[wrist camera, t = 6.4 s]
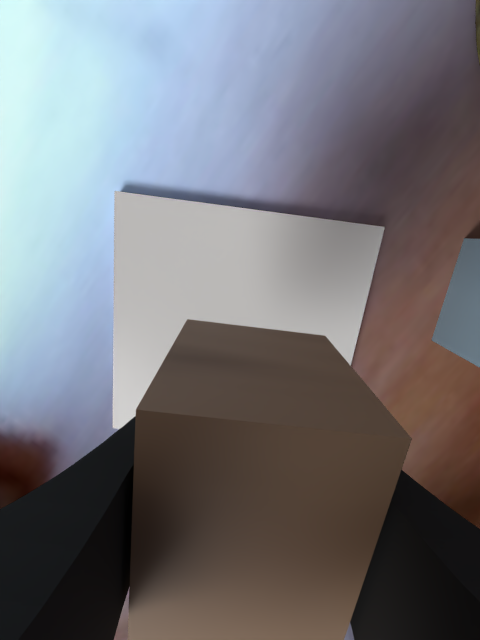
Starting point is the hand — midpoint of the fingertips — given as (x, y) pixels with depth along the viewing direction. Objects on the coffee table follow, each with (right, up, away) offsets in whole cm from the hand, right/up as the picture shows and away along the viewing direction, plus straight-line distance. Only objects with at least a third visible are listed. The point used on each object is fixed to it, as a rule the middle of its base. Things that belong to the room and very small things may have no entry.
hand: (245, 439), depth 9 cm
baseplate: (0, +3, +9) cm, 9 cm away
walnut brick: (0, 0, +1) cm, 1 cm away
